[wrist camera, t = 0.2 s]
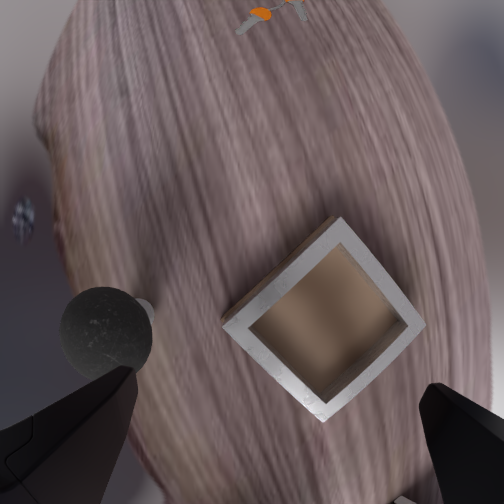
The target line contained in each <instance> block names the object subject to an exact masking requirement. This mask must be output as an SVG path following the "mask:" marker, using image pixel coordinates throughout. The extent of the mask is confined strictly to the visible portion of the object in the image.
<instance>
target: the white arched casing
mask: <svg viewBox="0 0 504 504" xmlns="http://www.w3.org/2000/svg"><path fill="white" fill-rule="evenodd" d="M394 503H396V504H416V503H414V502H412V501H411V500H409V499H407V498H405V497H403V496H400V497H398V498H397V499H396V500H395V501H394Z"/></svg>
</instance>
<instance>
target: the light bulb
mask: <svg viewBox="0 0 504 504" xmlns="http://www.w3.org/2000/svg"><path fill="white" fill-rule="evenodd" d="M153 320H154V309H153V307H152V306H151V304H150V303H149V302H148V301H146V300H144V299H140V298H133V297H132V296H130V295H129V294H127V293H126V292H124V291H121V290H119V289H116V288H111V287H95V288H91V289H88V290H86V291H83V292H82V293H80V294H79V295H77V296H76V297H75V298H73V300H72V301H71V302H70V303H69V304H68V305H67V307H66V309H65V311H64V313H63V315H62V319H61V323H60V329H59V332H60V341H61V346H62V349H63V351H64V353H65V356H66V357H67V360H68V361H69V362H70V363H71V365H72V366H73V367H74V368H75V369H76V370H77V371H78V372H79V373H80V374H82V375H83V376H85V377H87V378H89V379H92V380H96V379H97V378H99V377H101V376H103V375H104V374H106V373H108V372H109V371H111V370H113V369H115V368H116V367H118V366H120V365H125V366H129V367H133V368H134V369H135V371H136V373H137V372H138V371H139V370H140V369H141V368H142V367H143V365H144V364H145V362H146V361H147V358H148V356H149V354H150V352H151V346H152V327H151V324H152V322H153Z"/></svg>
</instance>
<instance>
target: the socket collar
mask: <svg viewBox="0 0 504 504" xmlns="http://www.w3.org/2000/svg"><path fill="white" fill-rule="evenodd" d="M335 246H336V247H337V248H338V250H339V251H340V252H341V253H342V254H343V255H344V256H345V258H346V259H347V260H348V261H349V262H350V263H351V265H352V266H353V267H354V268H355V269H356V271H357V272H358V273H359V274H360V275H361V277H362V278H363V279H364V280H365V281H366V283H367V284H368V285H369V286H370V287H371V289H372V290H373V291H374V292H375V294H376V295H377V296H378V297H379V298H380V300H381V301H382V302H383V303H384V305H385V306H386V307H387V308H388V310H389V311H390V312H391V313H392V315H393V316H394V317H395V318H396V320H397V321H396V322H395V323H394V324H393V325H392V326H391V327H390V328H389V329H388V330H387V331H386V332H385V334H384V335H383V336H382V337H381V338H380V339H379V340H378V341H377V342H376V343H375V344H374V345H373V346H371V347H370V348H369V349H368V350H367V351H366V352H365V353H364V354H363V355H362V356H361V357H360V358H359V359H358V360H357V361H356V362H355V363H354V364H353V365H351V366H350V367H349V368H348V369H347V370H346V371H345V372H344V373H343V374H342V375H340V376H339V377H338V378H337V379H336V380H335V381H334V382H332V383H331V384H330V385H329V386H328V387H327V388H325V389H324V390H323V391H322V392H321V393H320V392H318V391H317V390H316V389H315V388H314V387H313V386H312V385H311V384H310V383H309V382H308V381H307V380H306V379H305V378H304V377H303V376H302V375H301V374H300V373H299V372H298V371H297V370H296V369H295V368H294V367H293V366H292V365H291V364H290V363H289V362H287V361H286V360H285V359H284V358H283V357H282V356H281V355H280V354H279V353H278V352H277V351H276V350H275V349H274V348H273V347H272V346H271V345H270V344H269V343H268V342H267V341H266V340H265V339H264V338H263V336H262V335H261V334H260V333H259V332H258V331H257V330H256V329H255V328H254V327H253V326H252V324H253V323H254V322H255V321H256V320H257V319H258V318H260V317H261V316H262V315H263V314H264V313H265V312H266V311H267V310H268V309H270V308H271V307H272V306H273V305H274V304H275V303H276V302H277V301H278V300H279V299H280V298H282V297H283V296H284V295H285V294H286V293H287V292H288V291H289V290H290V289H291V288H292V287H293V286H295V285H296V284H297V283H298V282H299V281H300V280H301V279H302V278H303V277H304V276H305V275H306V274H307V273H308V272H309V271H310V270H311V269H313V268H314V267H315V266H316V265H317V264H318V263H319V262H320V261H321V260H322V259H323V258H324V257H325V256H326V255H327V254H328V253H329V252H330V251H331V250H332V249H333V248H334V247H335ZM425 326H426V323H425V322H424V321H423V319H422V318H421V317H420V315H419V314H418V312H417V311H416V310H415V308H414V307H413V306H412V304H411V303H410V302H409V300H408V299H407V298H406V296H405V295H404V294H403V292H402V291H401V290H400V288H399V287H398V286H397V284H396V283H395V282H394V280H393V279H392V278H391V277H390V275H389V274H388V273H387V272H386V270H385V269H384V268H383V267H382V265H381V264H380V263H379V262H378V260H377V259H376V258H375V257H374V255H373V254H372V253H371V252H370V250H369V249H368V248H367V247H366V246H365V244H364V243H363V242H362V241H361V240H360V238H359V237H358V236H357V235H356V234H355V232H354V231H353V230H352V229H351V228H350V227H349V225H348V224H347V223H346V222H345V221H344V220H343V219H342V217H338V218H335V219H332V220H331V221H330V222H329V223H328V224H327V225H326V226H325V227H324V228H323V229H322V230H321V231H320V232H319V233H318V234H317V235H316V236H315V237H314V238H313V239H312V240H310V241H309V242H308V243H307V244H306V245H305V246H304V247H303V248H302V249H301V250H300V251H299V252H298V253H297V254H296V255H295V256H294V257H292V258H291V259H290V260H289V261H288V262H287V263H286V264H285V265H284V266H283V267H282V268H281V269H280V270H279V271H277V272H276V273H275V274H274V275H273V276H272V277H271V278H270V279H269V280H268V281H267V282H266V283H265V284H263V285H262V286H261V287H260V288H259V289H258V290H257V291H256V292H255V293H254V294H253V295H251V296H250V297H249V298H248V299H247V300H246V301H245V302H244V303H243V304H242V305H240V306H239V307H238V308H237V309H236V310H235V311H234V312H233V313H232V314H230V315H229V316H228V317H227V318H226V319H225V320H224V322H223V326H222V328H223V329H224V330H225V331H226V332H227V333H228V334H229V335H230V336H231V337H232V338H233V339H234V340H235V341H236V342H237V343H238V344H239V345H240V346H241V347H242V348H243V349H244V350H245V351H246V352H247V353H248V354H249V355H250V356H251V357H252V358H253V359H254V360H255V361H256V362H257V363H259V364H260V365H261V366H262V367H263V368H264V369H265V370H266V371H267V372H268V373H269V374H270V375H271V376H272V377H273V378H274V379H275V380H276V381H277V382H278V383H279V384H281V385H282V386H283V387H284V388H285V389H286V390H287V391H288V392H289V393H290V394H291V395H292V396H294V397H295V398H296V399H297V400H298V401H299V402H300V403H301V404H302V405H303V406H305V407H306V408H307V409H308V410H309V411H310V412H311V413H312V414H314V415H315V416H316V417H317V418H318V419H319V420H320V421H322V422H325V421H326V420H327V419H328V418H330V417H331V416H332V415H333V414H335V413H336V412H337V411H338V410H339V409H341V408H342V407H343V406H344V405H345V404H347V403H348V402H349V401H350V400H351V399H352V398H354V397H355V396H356V395H357V394H358V393H359V392H360V391H361V390H363V389H364V388H365V387H366V386H367V385H368V384H369V383H370V382H371V381H372V380H373V379H375V378H376V377H377V376H378V375H379V374H380V373H381V372H382V371H383V370H384V369H385V368H386V367H387V366H388V365H389V364H390V363H391V362H392V361H393V360H394V359H395V358H396V357H397V356H398V355H399V354H400V353H401V352H402V351H403V350H404V349H405V348H406V347H407V346H408V345H409V344H410V342H411V341H412V340H413V339H414V338H415V337H416V336H417V335H418V334H419V333H420V332H421V330H422V329H423V328H424V327H425Z"/></svg>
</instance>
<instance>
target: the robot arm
mask: <svg viewBox="0 0 504 504" xmlns="http://www.w3.org/2000/svg"><path fill="white" fill-rule="evenodd" d="M137 395H138V386H137V378H136V371H135V369H134V368H133V367H129V366H125V365H120V366H118V367H116V368H115V369H113V370H111V371H109V372H108V373H106V374H104V375H103V376H101V377H99V378H97V379H96V380H94V381H92V382H90V383H89V384H87V385H85V386H84V387H82V388H80V389H78V390H76V391H75V392H73V393H71V394H69V395H67V396H66V397H64V398H62V399H60V400H59V401H57V402H55V403H53V404H51V405H49V406H48V407H46V408H44V409H42V410H40V411H39V412H37V413H35V414H34V415H33V416H32V415H31V416H29V417H27V418H25V419H24V420H22V421H20V422H18V423H16V424H14V425H12V426H10V427H8V428H5V429H3V430H0V504H100V503H101V500H102V498H103V495H104V492H105V490H106V487H107V484H108V482H109V479H110V476H111V474H112V472H113V469H114V466H115V464H116V461H117V459H118V456H119V454H120V451H121V449H122V446H123V444H124V441H125V438H126V435H127V432H128V428H129V424H130V421H131V417H132V413H133V409H134V406H135V402H136V399H137ZM419 411H420V416H421V420H422V424H423V429H424V433H425V438H426V443H427V447H428V450H429V453H430V456H431V460H432V463H433V466H434V470H435V473H436V476H437V480H438V483H439V487H440V490H441V494H442V498H443V502H444V504H504V419H502V418H500V417H499V416H497V415H495V414H494V413H492V412H490V411H488V410H487V409H485V408H483V407H482V406H480V405H478V404H476V403H475V402H473V401H471V400H470V399H468V398H466V397H464V396H463V395H461V394H459V393H458V392H456V391H454V390H452V389H451V388H449V387H447V386H446V385H444V384H442V383H431V384H429V385H428V387H427V388H426V390H425V392H424V394H423V396H422V398H421V400H420V403H419Z"/></svg>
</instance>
